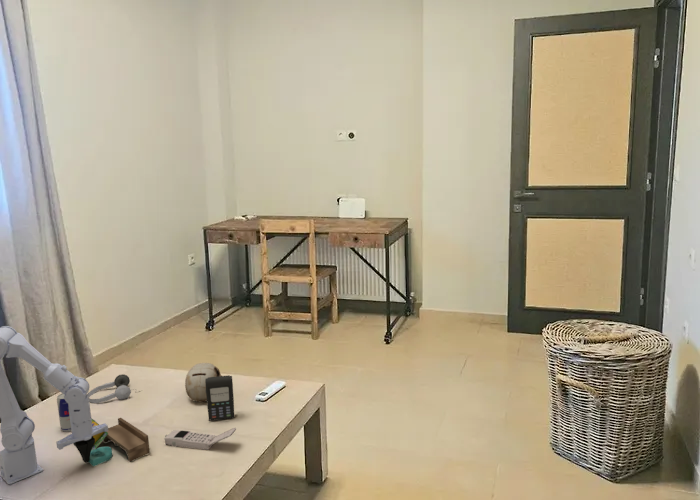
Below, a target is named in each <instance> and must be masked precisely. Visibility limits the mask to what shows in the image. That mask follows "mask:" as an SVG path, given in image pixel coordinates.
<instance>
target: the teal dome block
mask: <svg viewBox="0 0 700 500" xmlns="http://www.w3.org/2000/svg"><path fill="white" fill-rule="evenodd" d="M112 457H113V449H112V448H111V446H100V447H97V448H96V449H94V450H92V451H91V453H90V460H89V462H88V463H89V465H91V466H92V467H97V466H99V465H100V464H103V463H106V462H107V461H108V462H109V460H111V459H112Z"/></svg>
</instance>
